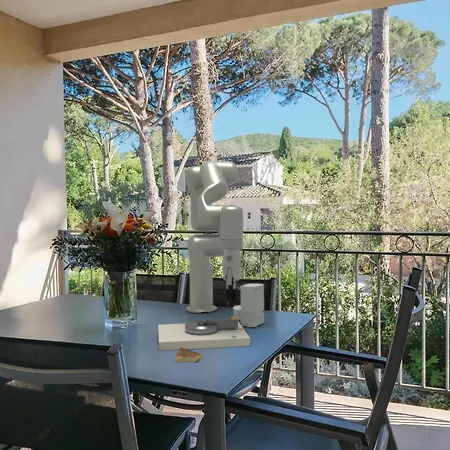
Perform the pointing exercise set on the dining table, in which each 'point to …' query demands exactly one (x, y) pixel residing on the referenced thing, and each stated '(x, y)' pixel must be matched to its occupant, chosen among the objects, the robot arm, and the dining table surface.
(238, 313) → the ramekin
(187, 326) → the dial
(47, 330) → the dining table surface
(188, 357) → the shard
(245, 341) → the board
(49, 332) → the dining table surface
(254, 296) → the skincare box
